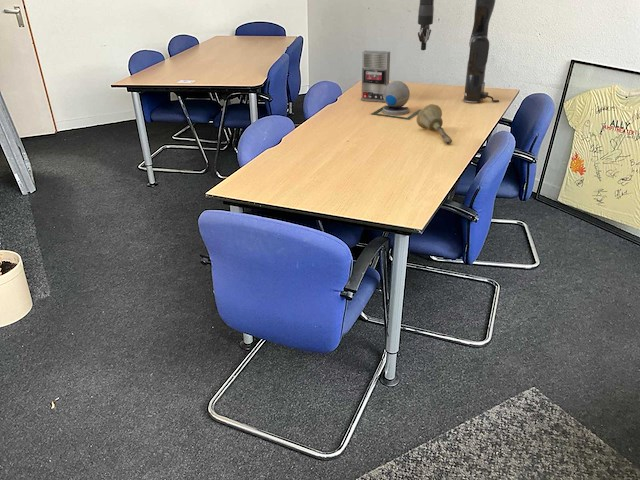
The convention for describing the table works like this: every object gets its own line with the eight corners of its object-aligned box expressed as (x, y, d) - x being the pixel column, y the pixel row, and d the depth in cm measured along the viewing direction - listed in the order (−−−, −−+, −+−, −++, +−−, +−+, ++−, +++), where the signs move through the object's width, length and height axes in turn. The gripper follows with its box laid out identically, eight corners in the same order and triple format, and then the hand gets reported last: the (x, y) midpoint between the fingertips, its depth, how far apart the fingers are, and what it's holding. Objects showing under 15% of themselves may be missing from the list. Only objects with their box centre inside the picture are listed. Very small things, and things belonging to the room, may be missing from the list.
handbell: (428, 131, 246) (450, 159, 227) (410, 119, 240) (431, 146, 221) (445, 111, 241) (470, 137, 223) (428, 98, 235) (451, 123, 216)
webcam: (412, 110, 270) (414, 79, 262) (401, 116, 261) (403, 85, 253) (389, 106, 276) (390, 77, 269) (378, 113, 267) (378, 82, 260)
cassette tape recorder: (360, 100, 288) (361, 52, 276) (364, 97, 293) (365, 50, 281) (385, 102, 283) (387, 53, 271) (388, 99, 288) (390, 51, 276)
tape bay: (422, 110, 269) (422, 110, 269) (408, 119, 256) (408, 118, 256) (385, 105, 278) (385, 105, 278) (371, 114, 265) (371, 113, 265)
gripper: (428, 16, 263) (425, 52, 271) (437, 12, 272) (434, 48, 281) (413, 15, 266) (411, 51, 274) (423, 12, 276) (421, 47, 284)
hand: (423, 49), depth 278 cm, fingers closed
